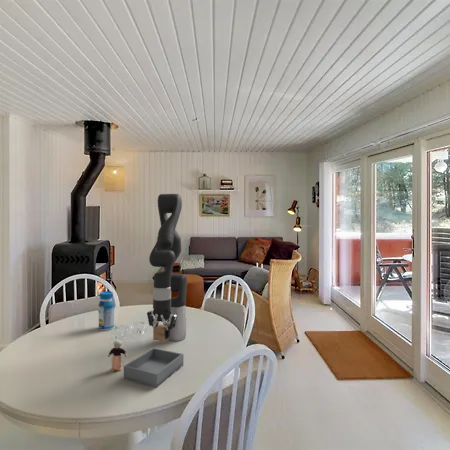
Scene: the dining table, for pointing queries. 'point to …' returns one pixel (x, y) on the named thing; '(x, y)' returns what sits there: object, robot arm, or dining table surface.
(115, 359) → the grandmother figurine
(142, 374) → the tote
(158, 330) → the walnut block
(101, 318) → the blue labelled canister
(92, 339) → the dining table surface
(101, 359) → the dining table surface
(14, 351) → the dining table surface
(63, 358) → the dining table surface
